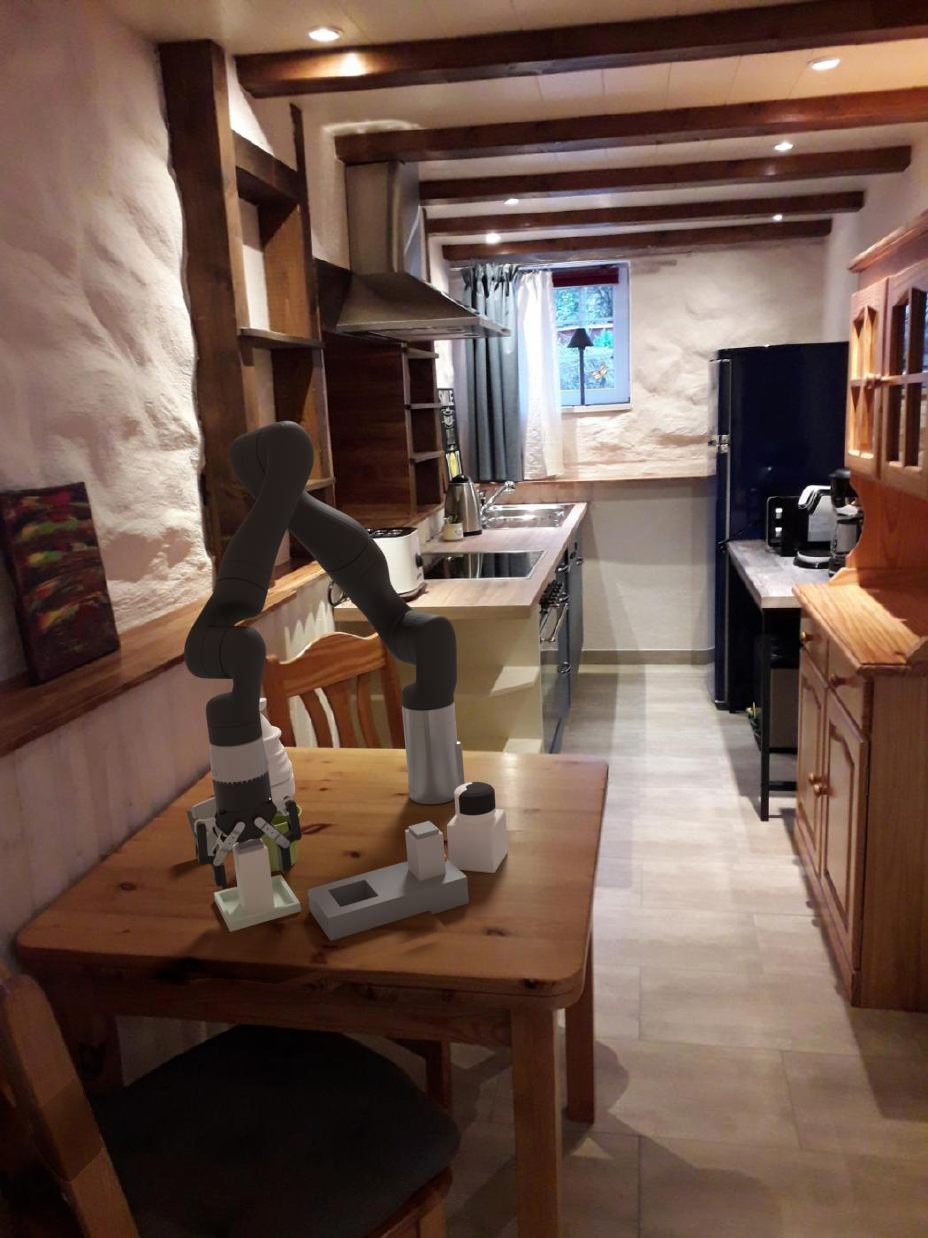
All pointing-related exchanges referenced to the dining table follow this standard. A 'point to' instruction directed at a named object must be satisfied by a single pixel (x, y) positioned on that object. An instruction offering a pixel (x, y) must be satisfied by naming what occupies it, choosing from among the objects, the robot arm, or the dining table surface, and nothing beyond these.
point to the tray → (238, 919)
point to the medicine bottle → (477, 829)
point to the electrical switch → (205, 811)
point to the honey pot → (276, 760)
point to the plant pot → (282, 826)
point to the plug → (253, 876)
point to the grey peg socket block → (392, 888)
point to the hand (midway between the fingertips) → (253, 878)
